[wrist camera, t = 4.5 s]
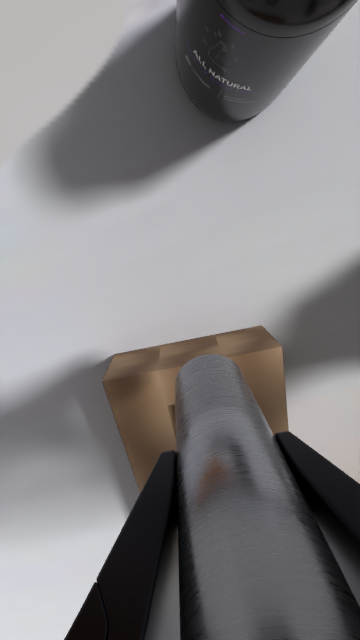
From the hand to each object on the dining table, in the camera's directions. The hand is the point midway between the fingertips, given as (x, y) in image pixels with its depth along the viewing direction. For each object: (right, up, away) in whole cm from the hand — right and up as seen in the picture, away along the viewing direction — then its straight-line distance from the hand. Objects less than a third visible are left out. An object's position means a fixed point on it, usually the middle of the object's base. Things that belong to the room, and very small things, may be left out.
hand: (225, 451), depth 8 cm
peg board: (+1, -6, +16) cm, 17 cm away
